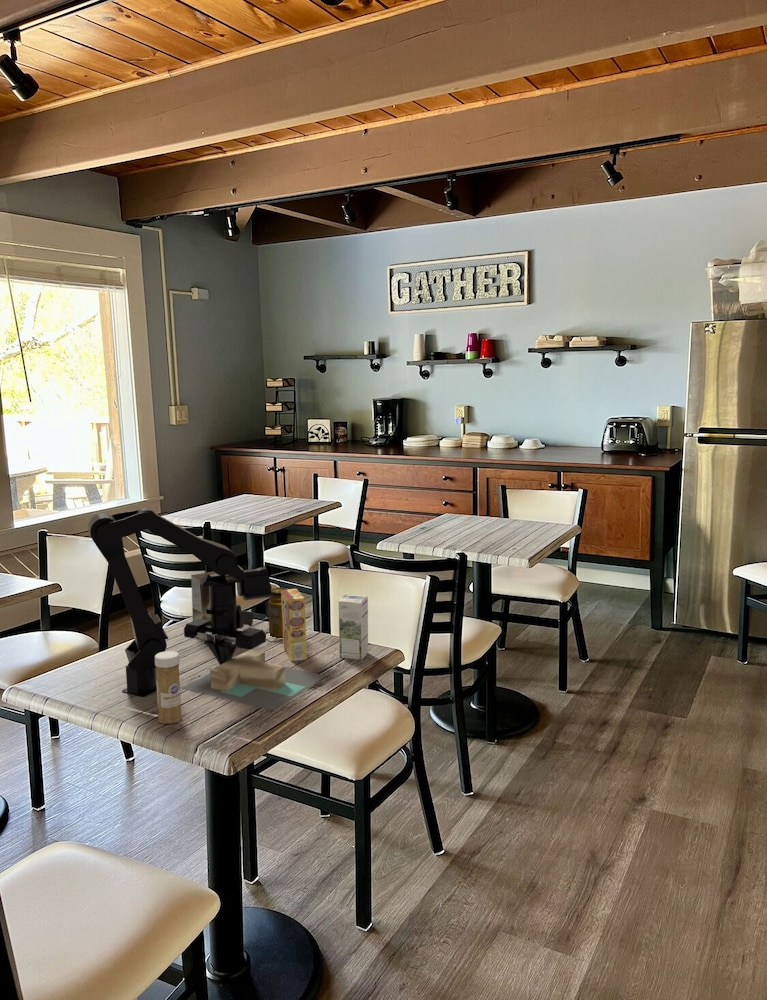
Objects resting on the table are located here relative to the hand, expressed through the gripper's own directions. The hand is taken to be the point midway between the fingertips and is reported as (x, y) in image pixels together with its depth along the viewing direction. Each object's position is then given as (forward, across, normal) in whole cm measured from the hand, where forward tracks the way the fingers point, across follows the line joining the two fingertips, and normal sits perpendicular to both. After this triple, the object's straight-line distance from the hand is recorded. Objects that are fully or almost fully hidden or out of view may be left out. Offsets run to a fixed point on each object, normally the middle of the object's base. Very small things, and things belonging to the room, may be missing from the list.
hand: (225, 670), depth 173 cm
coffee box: (+2, +21, -21) cm, 30 cm away
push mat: (+2, -8, 0) cm, 8 cm away
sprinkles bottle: (+2, -4, +22) cm, 23 cm away
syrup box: (+2, -20, -24) cm, 31 cm away
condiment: (+2, +6, -28) cm, 29 cm away
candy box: (+2, -6, -18) cm, 19 cm away
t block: (+1, -8, 0) cm, 8 cm away
